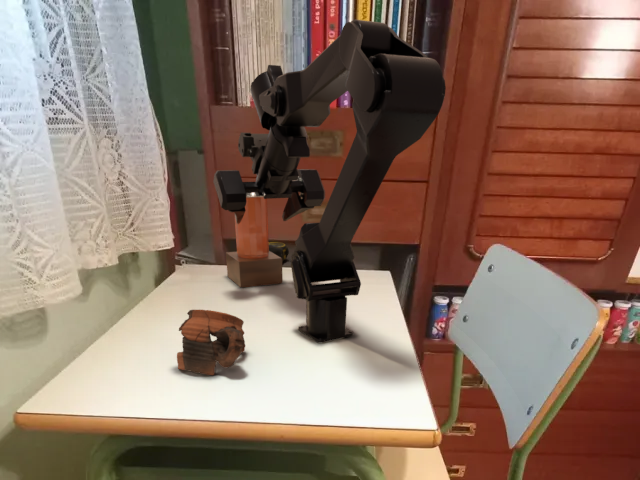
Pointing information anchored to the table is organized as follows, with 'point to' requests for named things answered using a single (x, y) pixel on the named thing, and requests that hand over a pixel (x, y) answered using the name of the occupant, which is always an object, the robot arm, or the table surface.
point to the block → (254, 270)
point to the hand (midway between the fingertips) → (260, 220)
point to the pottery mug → (198, 342)
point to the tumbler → (253, 230)
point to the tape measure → (279, 249)
